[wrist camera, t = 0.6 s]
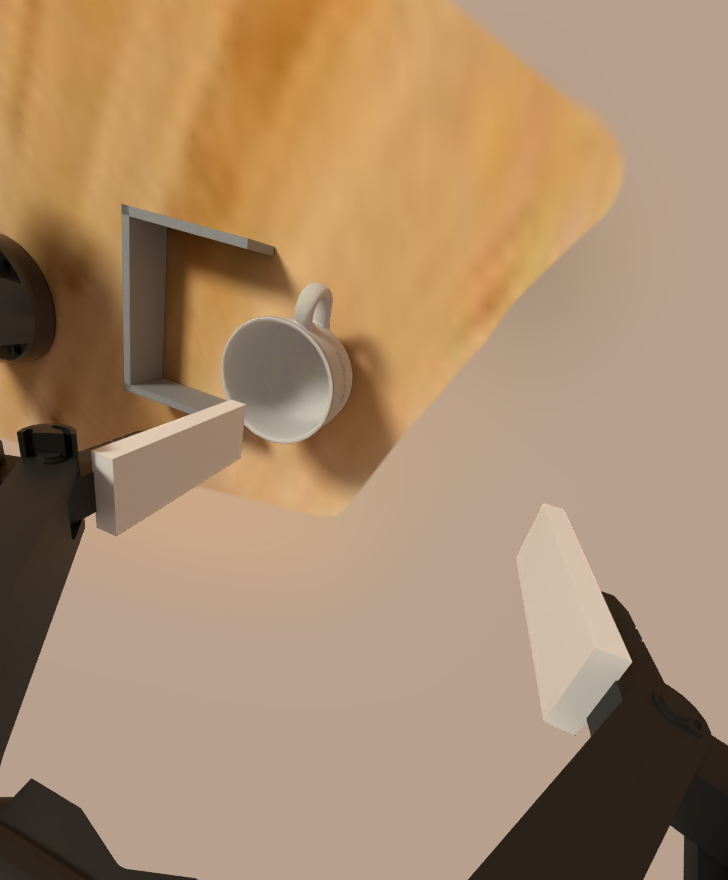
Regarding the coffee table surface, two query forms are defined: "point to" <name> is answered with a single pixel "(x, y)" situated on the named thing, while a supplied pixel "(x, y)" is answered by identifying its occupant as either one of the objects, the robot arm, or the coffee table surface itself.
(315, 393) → the teacup
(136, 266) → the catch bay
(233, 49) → the coffee table surface
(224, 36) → the coffee table surface
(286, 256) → the coffee table surface
